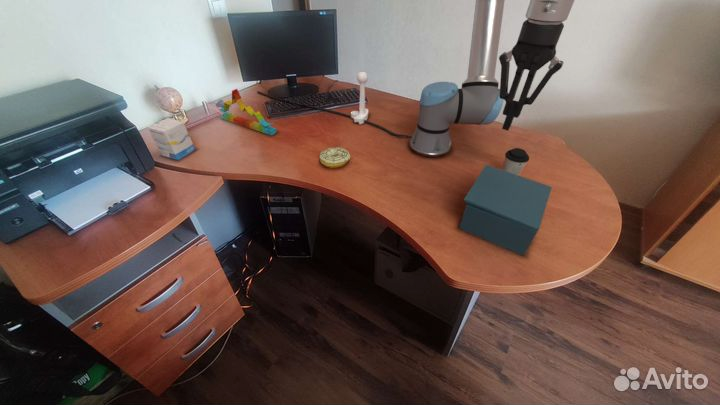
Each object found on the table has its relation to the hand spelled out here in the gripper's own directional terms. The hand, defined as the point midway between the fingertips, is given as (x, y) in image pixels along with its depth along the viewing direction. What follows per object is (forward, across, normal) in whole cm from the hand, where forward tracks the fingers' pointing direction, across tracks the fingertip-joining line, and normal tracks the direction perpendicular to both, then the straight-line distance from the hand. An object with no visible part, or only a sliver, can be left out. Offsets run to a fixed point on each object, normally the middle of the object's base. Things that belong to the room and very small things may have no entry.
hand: (506, 127), depth 75 cm
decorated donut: (+24, -50, -10) cm, 56 cm away
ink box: (+24, -103, -38) cm, 112 cm away
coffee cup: (+24, +4, +14) cm, 28 cm away
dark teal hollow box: (+23, +7, -8) cm, 26 cm away
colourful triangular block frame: (+24, -98, -8) cm, 102 cm away
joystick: (+24, -62, +24) cm, 71 cm away
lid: (+14, +7, -8) cm, 17 cm away
